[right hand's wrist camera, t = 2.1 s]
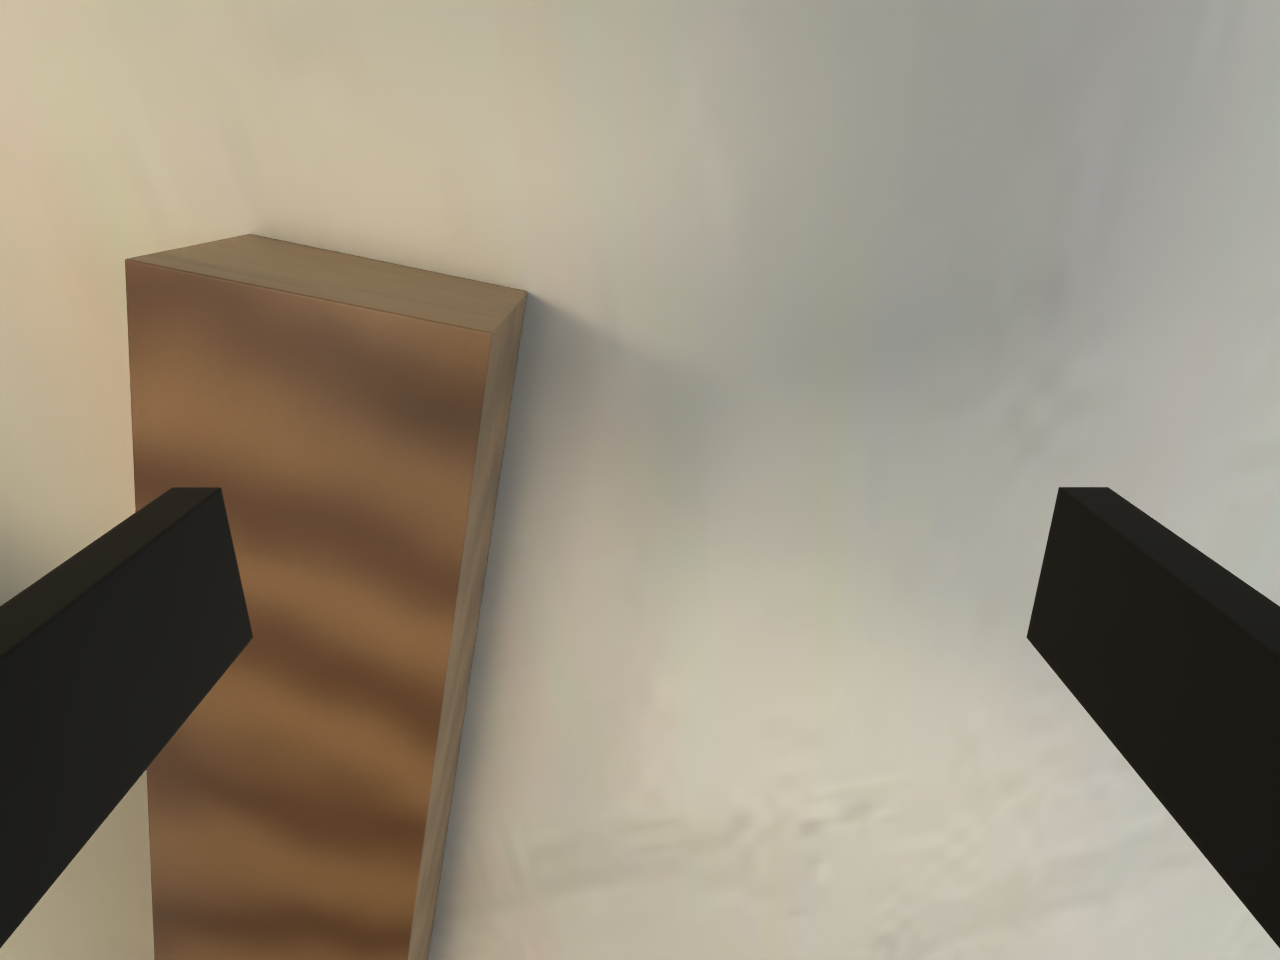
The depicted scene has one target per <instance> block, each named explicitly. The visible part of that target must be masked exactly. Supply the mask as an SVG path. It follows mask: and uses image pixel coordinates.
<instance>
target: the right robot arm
mask: <svg viewBox="0 0 1280 960" xmlns="http://www.w3.org/2000/svg"><path fill="white" fill-rule="evenodd" d="M252 638H253V634H252V629H251V624H250V620H249V615H248V611H247V606H246V601H245V597H244V592H243V587H242V583H241V578H240V573H239V569H238V564H237V559H236V555H235V550H234V545H233V541H232V536H231V531H230V527H229V522H228V518H227V513H226V508H225V504H224V499H223V494H222V490H221V487H172V488H170V489H169V490H168V491H166V492H165V493H163V494H162V495H160V496H159V497H158V498H156V499H155V500H153V501H152V502H150V503H149V504H147V505H146V506H145V507H143V508H142V509H140V510H139V511H137V512H136V513H134V514H133V515H132V516H130V517H129V518H127V519H126V520H124V521H123V522H121V523H120V524H119V525H117V526H116V527H114V528H113V529H111V530H110V531H109V532H107V533H106V534H104V535H103V536H101V537H100V538H98V539H97V540H96V541H94V542H93V543H91V544H90V545H88V546H87V547H85V548H84V549H83V550H81V551H80V552H78V553H77V554H75V555H74V556H73V557H71V558H70V559H68V560H67V561H65V562H64V563H62V564H61V565H60V566H58V567H57V568H55V569H54V570H52V571H51V572H49V573H48V574H47V575H45V576H44V577H42V578H41V579H39V580H38V581H36V582H35V583H34V584H32V585H31V586H29V587H28V588H26V589H25V590H24V591H22V592H21V593H19V594H18V595H16V596H15V597H13V598H12V599H11V600H9V601H8V602H6V603H5V604H3V605H2V606H0V948H1V947H2V945H3V944H4V943H5V942H6V941H7V939H8V938H9V937H10V936H11V934H12V933H13V932H14V931H15V929H16V928H17V927H18V926H19V925H20V923H21V922H22V921H23V920H24V918H25V917H26V916H27V915H28V914H29V912H30V911H31V910H32V909H33V907H34V906H35V905H36V904H37V902H38V901H39V900H40V899H41V898H42V896H43V895H44V894H45V893H46V891H47V890H48V889H49V888H50V887H51V885H52V884H53V883H54V882H55V880H56V879H57V878H58V877H59V875H60V874H61V873H62V872H63V871H64V869H65V868H66V867H67V866H68V864H69V863H70V862H71V861H72V860H73V858H74V857H75V856H76V855H77V853H78V852H79V851H80V850H81V848H82V847H83V846H84V845H85V844H86V842H87V841H88V840H89V839H90V837H91V836H92V835H93V834H94V832H95V831H96V830H97V829H98V828H99V826H100V825H101V824H102V823H103V821H104V820H105V819H106V818H107V817H108V815H109V814H110V813H111V812H112V810H113V809H114V808H115V807H116V805H117V804H118V803H119V802H120V801H121V799H122V798H123V797H124V796H125V794H126V793H127V792H128V791H129V790H130V788H131V787H132V786H133V785H134V783H135V782H136V781H137V780H138V778H139V777H140V776H141V775H142V774H143V772H144V771H145V770H146V769H147V767H148V766H149V765H150V764H151V762H152V761H153V760H154V759H155V758H156V756H157V755H158V754H159V753H160V751H161V750H162V749H163V748H164V747H165V745H166V744H167V743H168V742H169V740H170V739H171V738H172V737H173V735H174V734H175V733H176V732H177V731H178V729H179V728H180V727H181V726H182V724H183V723H184V722H185V721H186V720H187V718H188V717H189V716H190V715H191V713H192V712H193V711H194V710H195V708H196V707H197V706H198V705H199V704H200V702H201V701H202V700H203V699H204V697H205V696H206V695H207V694H208V693H209V691H210V690H211V689H212V688H213V686H214V685H215V684H216V683H217V681H218V680H219V679H220V678H221V677H222V675H223V674H224V673H225V672H226V670H227V669H228V668H229V667H230V665H231V664H232V663H233V662H234V661H235V659H236V658H237V657H238V656H239V654H240V653H241V652H242V651H243V650H244V648H245V647H246V646H247V645H248V643H249V642H250V641H251V640H252ZM1027 638H1028V640H1029V641H1030V642H1031V643H1032V645H1033V646H1034V647H1035V648H1036V650H1037V651H1038V652H1039V653H1040V654H1041V656H1042V657H1043V658H1044V659H1045V661H1046V662H1047V663H1048V664H1049V665H1050V667H1051V668H1052V669H1053V670H1054V672H1055V673H1056V674H1057V675H1058V677H1059V678H1060V679H1061V680H1062V681H1063V683H1064V684H1065V685H1066V686H1067V688H1068V689H1069V690H1070V691H1071V693H1072V694H1073V695H1074V696H1075V697H1076V699H1077V700H1078V701H1079V702H1080V704H1081V705H1082V706H1083V707H1084V708H1085V710H1086V711H1087V712H1088V713H1089V715H1090V716H1091V717H1092V718H1093V720H1094V721H1095V722H1096V723H1097V724H1098V726H1099V727H1100V728H1101V729H1102V731H1103V732H1104V733H1105V734H1106V735H1107V737H1108V738H1109V739H1110V740H1111V742H1112V743H1113V744H1114V745H1115V747H1116V748H1117V749H1118V750H1119V751H1120V753H1121V754H1122V755H1123V756H1124V758H1125V759H1126V760H1127V761H1128V762H1129V764H1130V765H1131V766H1132V767H1133V769H1134V770H1135V771H1136V772H1137V774H1138V775H1139V776H1140V777H1141V778H1142V780H1143V781H1144V782H1145V783H1146V785H1147V786H1148V787H1149V788H1150V790H1151V791H1152V792H1153V793H1154V794H1155V796H1156V797H1157V798H1158V799H1159V801H1160V802H1161V803H1162V804H1163V805H1164V807H1165V808H1166V809H1167V810H1168V812H1169V813H1170V814H1171V815H1172V817H1173V818H1174V819H1175V820H1176V821H1177V823H1178V824H1179V825H1180V826H1181V828H1182V829H1183V830H1184V831H1185V832H1186V834H1187V835H1188V836H1189V837H1190V839H1191V840H1192V841H1193V842H1194V844H1195V845H1196V846H1197V847H1198V848H1199V850H1200V851H1201V852H1202V853H1203V855H1204V856H1205V857H1206V858H1207V860H1208V861H1209V862H1210V863H1211V864H1212V866H1213V867H1214V868H1215V869H1216V871H1217V872H1218V873H1219V874H1220V875H1221V877H1222V878H1223V879H1224V880H1225V882H1226V883H1227V884H1228V885H1229V887H1230V888H1231V889H1232V890H1233V891H1234V893H1235V894H1236V895H1237V896H1238V898H1239V899H1240V900H1241V901H1242V902H1243V904H1244V905H1245V906H1246V907H1247V909H1248V910H1249V911H1250V912H1251V914H1252V915H1253V916H1254V917H1255V918H1256V920H1257V921H1258V922H1259V923H1260V925H1261V926H1262V927H1263V928H1264V929H1265V931H1266V932H1267V933H1268V934H1269V936H1270V937H1271V938H1272V939H1273V941H1274V942H1275V943H1276V944H1277V945H1278V947H1279V948H1280V606H1278V605H1277V604H1275V603H1274V602H1272V601H1271V600H1269V599H1268V598H1267V597H1265V596H1264V595H1262V594H1261V593H1259V592H1258V591H1256V590H1255V589H1254V588H1252V587H1251V586H1249V585H1248V584H1246V583H1245V582H1244V581H1242V580H1241V579H1239V578H1238V577H1236V576H1235V575H1233V574H1232V573H1231V572H1229V571H1228V570H1226V569H1225V568H1223V567H1222V566H1220V565H1219V564H1218V563H1216V562H1215V561H1213V560H1212V559H1210V558H1209V557H1207V556H1206V555H1205V554H1203V553H1202V552H1200V551H1199V550H1197V549H1196V548H1195V547H1193V546H1192V545H1190V544H1189V543H1187V542H1186V541H1184V540H1183V539H1182V538H1180V537H1179V536H1177V535H1176V534H1174V533H1173V532H1171V531H1170V530H1169V529H1167V528H1166V527H1164V526H1163V525H1161V524H1160V523H1159V522H1157V521H1156V520H1154V519H1153V518H1151V517H1150V516H1148V515H1147V514H1146V513H1144V512H1143V511H1141V510H1140V509H1138V508H1137V507H1135V506H1134V505H1133V504H1131V503H1130V502H1128V501H1127V500H1125V499H1124V498H1122V497H1121V496H1120V495H1118V494H1117V493H1115V492H1114V491H1112V490H1111V489H1110V488H1108V487H1059V490H1058V494H1057V499H1056V504H1055V508H1054V513H1053V518H1052V522H1051V527H1050V531H1049V536H1048V541H1047V545H1046V550H1045V555H1044V559H1043V564H1042V569H1041V573H1040V578H1039V583H1038V587H1037V592H1036V597H1035V601H1034V606H1033V611H1032V615H1031V620H1030V624H1029V629H1028V634H1027Z"/></svg>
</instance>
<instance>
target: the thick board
mask: <svg viewBox="0 0 1280 960" xmlns="http://www.w3.org/2000/svg"><path fill="white" fill-rule="evenodd" d="M125 269H126V293H127V316H128V340H129V363H130V387H131V410H132V434H133V457H134V481H135V505H136V512H137V511H139V510H140V509H142V508H143V507H145V506H146V505H147V504H149V503H150V502H152V501H153V500H155V499H156V498H158V497H159V496H160V495H162V494H163V493H165V492H166V491H168V490H169V489H170V488H172V487H221V490H222V494H223V499H224V504H225V508H226V513H227V518H228V522H229V527H230V531H231V536H232V541H233V545H234V550H235V555H236V559H237V564H238V569H239V573H240V578H241V583H242V587H243V592H244V597H245V601H246V606H247V611H248V615H249V620H250V624H251V629H252V634H253V638H252V640H251V641H250V642H249V643H248V645H247V646H246V647H245V648H244V650H243V651H242V652H241V653H240V654H239V656H238V657H237V658H236V659H235V661H234V662H233V663H232V664H231V665H230V667H229V668H228V669H227V670H226V672H225V673H224V674H223V675H222V677H221V678H220V679H219V680H218V681H217V683H216V684H215V685H214V686H213V688H212V689H211V690H210V691H209V693H208V694H207V695H206V696H205V697H204V699H203V700H202V701H201V702H200V704H199V705H198V706H197V707H196V708H195V710H194V711H193V712H192V713H191V715H190V716H189V717H188V718H187V720H186V721H185V722H184V723H183V724H182V726H181V727H180V728H179V729H178V731H177V732H176V733H175V734H174V735H173V737H172V738H171V739H170V740H169V742H168V743H167V744H166V745H165V747H164V748H163V749H162V750H161V751H160V753H159V754H158V755H157V756H156V758H155V759H154V760H153V761H152V762H151V764H150V765H149V766H148V767H147V787H148V811H149V835H150V858H151V882H152V905H153V929H154V952H155V960H428V956H429V949H430V942H431V936H432V929H433V922H434V915H435V909H436V902H437V895H438V889H439V882H440V875H441V868H442V862H443V855H444V848H445V842H446V835H447V828H448V821H449V815H450V808H451V801H452V795H453V788H454V781H455V774H456V768H457V761H458V754H459V747H460V741H461V734H462V727H463V721H464V714H465V707H466V700H467V694H468V687H469V680H470V674H471V667H472V660H473V653H474V647H475V640H476V633H477V627H478V620H479V613H480V606H481V600H482V593H483V586H484V579H485V573H486V566H487V559H488V553H489V546H490V539H491V532H492V526H493V519H494V512H495V506H496V499H497V492H498V485H499V479H500V472H501V465H502V459H503V452H504V445H505V438H506V432H507V425H508V418H509V411H510V405H511V398H512V391H513V385H514V378H515V371H516V364H517V358H518V351H519V344H520V338H521V331H522V324H523V317H524V311H525V304H526V297H527V292H526V291H522V290H517V289H512V288H508V287H503V286H498V285H493V284H488V283H483V282H479V281H474V280H469V279H464V278H459V277H454V276H450V275H445V274H440V273H435V272H430V271H425V270H421V269H416V268H411V267H406V266H401V265H396V264H392V263H387V262H382V261H377V260H372V259H367V258H363V257H358V256H353V255H348V254H343V253H338V252H334V251H329V250H324V249H319V248H314V247H309V246H305V245H300V244H295V243H290V242H285V241H280V240H276V239H271V238H266V237H261V236H256V235H251V234H248V235H243V236H238V237H233V238H228V239H223V240H218V241H213V242H208V243H203V244H198V245H193V246H188V247H183V248H178V249H173V250H168V251H164V252H159V253H154V254H149V255H144V256H139V257H134V258H129V259H126V260H125Z"/></svg>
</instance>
